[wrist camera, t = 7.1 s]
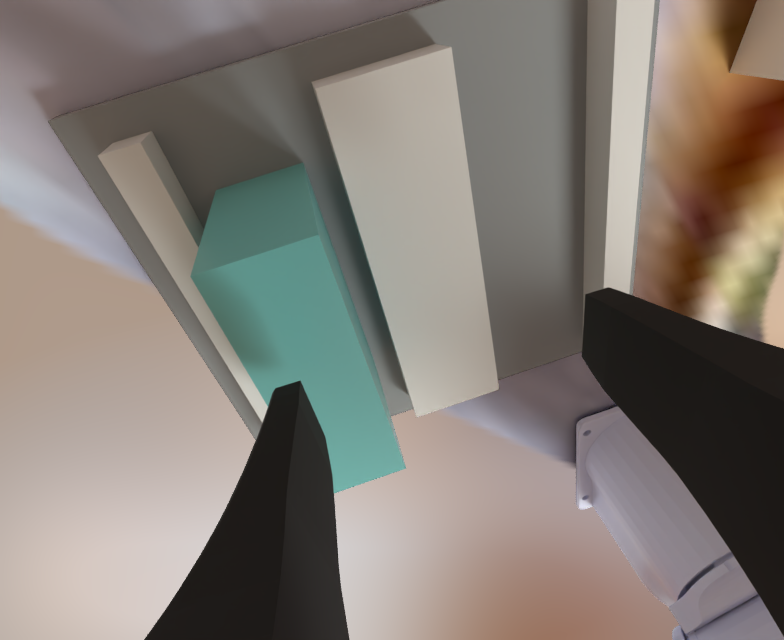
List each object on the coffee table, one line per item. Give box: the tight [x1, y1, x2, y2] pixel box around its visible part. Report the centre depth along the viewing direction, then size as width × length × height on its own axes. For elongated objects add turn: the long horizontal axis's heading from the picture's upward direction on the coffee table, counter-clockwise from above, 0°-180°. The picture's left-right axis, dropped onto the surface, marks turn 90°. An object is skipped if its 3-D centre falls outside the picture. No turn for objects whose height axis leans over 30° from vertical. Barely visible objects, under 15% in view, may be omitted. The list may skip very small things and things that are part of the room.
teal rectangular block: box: [190, 163, 406, 493], centre depth 15 cm, size 9×3×6 cm, turn 14°
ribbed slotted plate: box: [48, 0, 660, 440], centre depth 18 cm, size 16×19×2 cm
